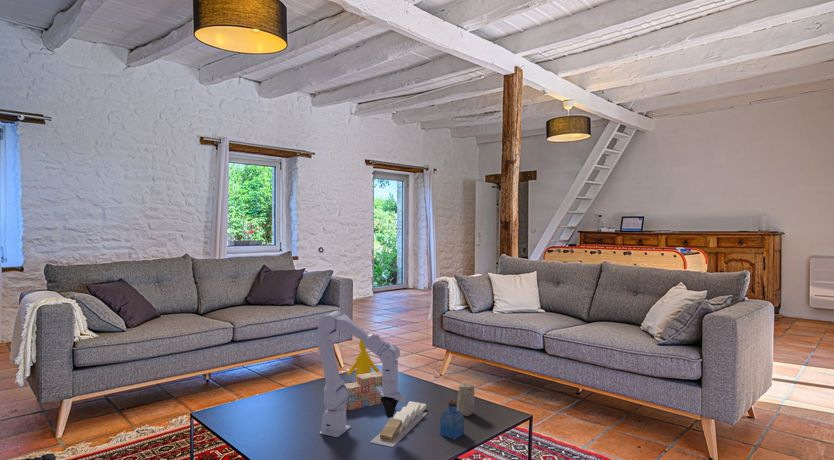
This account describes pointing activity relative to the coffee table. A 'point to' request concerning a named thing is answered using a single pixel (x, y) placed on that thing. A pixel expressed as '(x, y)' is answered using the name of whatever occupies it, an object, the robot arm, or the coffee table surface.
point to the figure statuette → (363, 362)
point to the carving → (466, 399)
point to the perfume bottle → (452, 422)
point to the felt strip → (398, 436)
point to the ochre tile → (391, 429)
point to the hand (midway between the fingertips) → (389, 416)
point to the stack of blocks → (364, 391)
